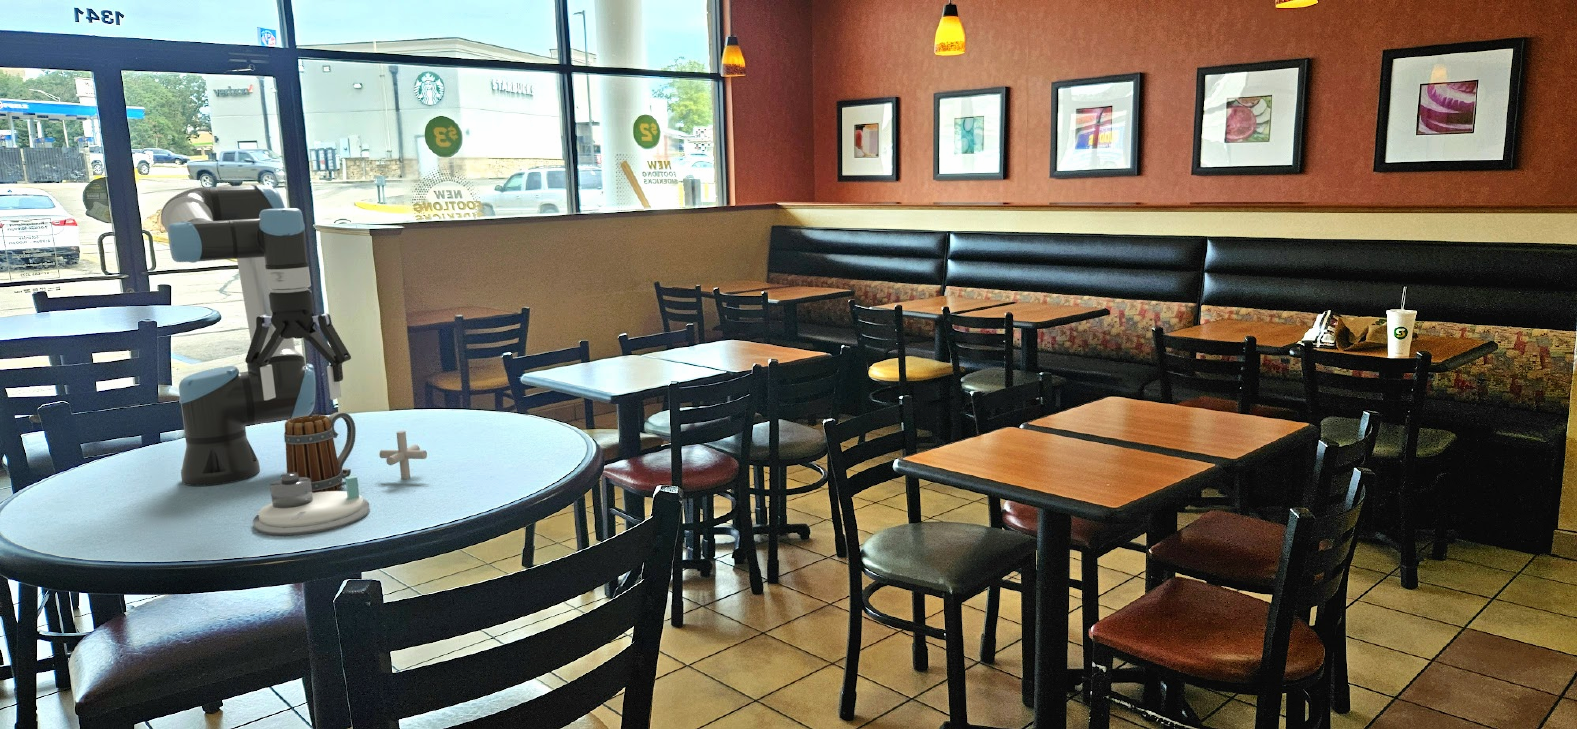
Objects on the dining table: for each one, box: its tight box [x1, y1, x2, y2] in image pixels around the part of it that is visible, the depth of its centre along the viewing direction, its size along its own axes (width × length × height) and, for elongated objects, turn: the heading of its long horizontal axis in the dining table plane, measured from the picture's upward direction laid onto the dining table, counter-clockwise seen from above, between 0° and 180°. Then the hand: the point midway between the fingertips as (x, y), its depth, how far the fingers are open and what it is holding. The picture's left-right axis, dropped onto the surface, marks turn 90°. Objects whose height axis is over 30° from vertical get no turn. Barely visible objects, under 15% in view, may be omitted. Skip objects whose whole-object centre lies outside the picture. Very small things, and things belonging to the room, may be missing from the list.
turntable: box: [257, 475, 364, 527], centre depth 202 cm, size 18×18×5 cm
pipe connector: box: [378, 430, 428, 480], centre depth 227 cm, size 10×10×10 cm
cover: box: [269, 472, 313, 508], centre depth 204 cm, size 7×7×6 cm
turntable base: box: [252, 498, 371, 537], centre depth 202 cm, size 20×20×1 cm
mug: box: [283, 411, 357, 493], centre depth 222 cm, size 16×11×15 cm
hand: (302, 398), depth 210 cm, fingers open, 13 cm apart
